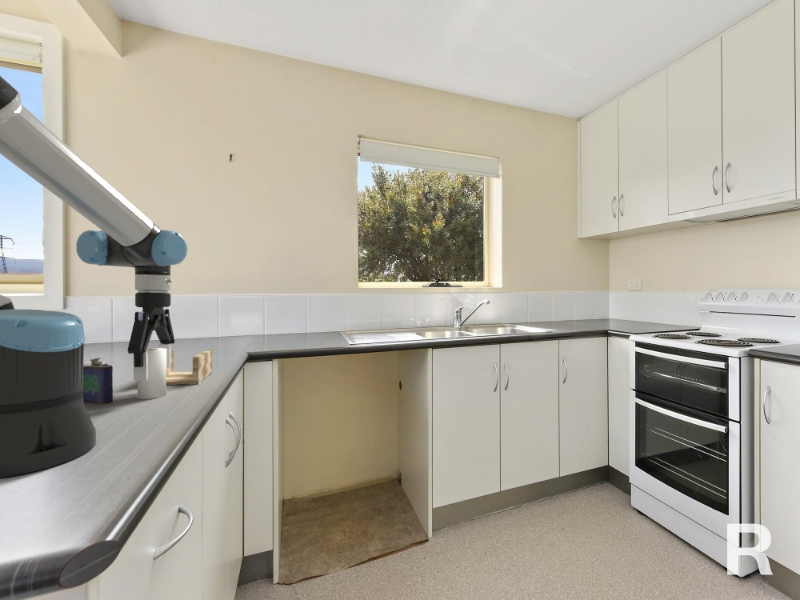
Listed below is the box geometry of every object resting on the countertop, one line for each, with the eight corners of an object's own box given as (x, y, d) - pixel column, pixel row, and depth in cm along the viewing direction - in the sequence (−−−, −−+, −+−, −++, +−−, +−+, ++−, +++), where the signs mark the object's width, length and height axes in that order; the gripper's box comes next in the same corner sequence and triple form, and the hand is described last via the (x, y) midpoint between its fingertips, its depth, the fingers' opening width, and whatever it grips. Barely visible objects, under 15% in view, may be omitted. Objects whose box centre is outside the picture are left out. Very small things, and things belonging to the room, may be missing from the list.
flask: (72, 402, 83) (72, 358, 83) (84, 399, 86) (85, 356, 86) (106, 404, 82) (106, 359, 82) (117, 401, 85) (118, 357, 85)
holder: (198, 384, 102) (198, 357, 102) (147, 386, 99) (148, 358, 99) (212, 373, 116) (212, 349, 116) (168, 375, 113) (168, 350, 112)
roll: (160, 398, 87) (160, 350, 87) (132, 399, 86) (133, 351, 86) (169, 392, 93) (170, 347, 93) (144, 393, 92) (144, 347, 92)
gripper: (146, 292, 78) (147, 385, 79) (186, 291, 102) (187, 363, 103) (108, 291, 76) (108, 387, 77) (158, 291, 101) (158, 363, 101)
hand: (153, 373), depth 90 cm, fingers open, 13 cm apart
